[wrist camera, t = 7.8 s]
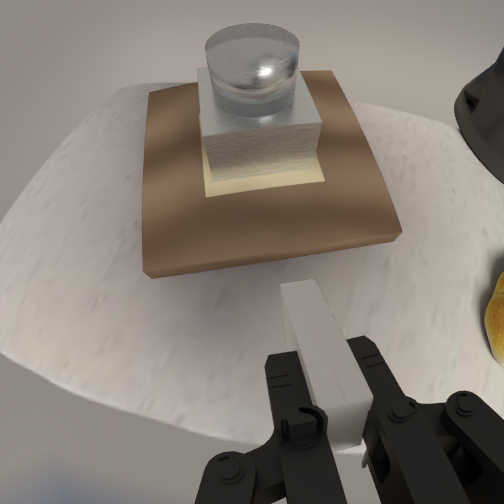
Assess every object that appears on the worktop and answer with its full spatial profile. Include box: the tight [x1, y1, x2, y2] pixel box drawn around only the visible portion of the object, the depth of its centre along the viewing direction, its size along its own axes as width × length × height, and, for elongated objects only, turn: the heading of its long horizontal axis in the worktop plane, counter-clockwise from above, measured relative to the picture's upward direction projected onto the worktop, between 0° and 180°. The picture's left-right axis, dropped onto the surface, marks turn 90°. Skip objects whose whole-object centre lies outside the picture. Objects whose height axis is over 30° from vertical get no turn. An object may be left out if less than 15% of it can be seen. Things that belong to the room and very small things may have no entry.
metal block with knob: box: [197, 23, 322, 183], centre depth 17 cm, size 6×6×8 cm
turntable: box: [142, 71, 402, 279], centre depth 21 cm, size 16×16×2 cm
